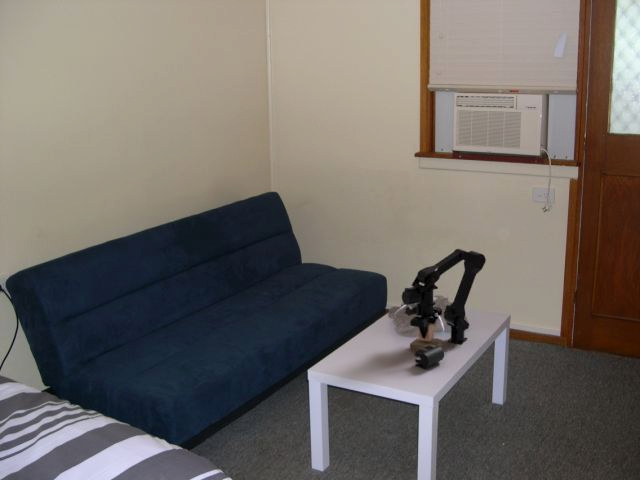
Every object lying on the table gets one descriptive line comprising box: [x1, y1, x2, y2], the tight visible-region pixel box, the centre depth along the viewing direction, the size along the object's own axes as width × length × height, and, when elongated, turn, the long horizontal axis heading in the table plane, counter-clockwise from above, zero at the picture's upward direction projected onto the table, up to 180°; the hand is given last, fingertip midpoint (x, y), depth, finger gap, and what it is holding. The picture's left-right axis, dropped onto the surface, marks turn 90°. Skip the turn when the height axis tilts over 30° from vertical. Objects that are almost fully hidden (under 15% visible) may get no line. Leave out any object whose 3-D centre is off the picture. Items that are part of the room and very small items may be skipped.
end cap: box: [414, 346, 445, 370], centre depth 300 cm, size 10×7×7 cm
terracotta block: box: [418, 323, 435, 341], centre depth 314 cm, size 4×4×6 cm
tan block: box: [409, 336, 443, 353], centre depth 316 cm, size 10×10×3 cm
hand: (426, 336), depth 315 cm, fingers closed on terracotta block, 4 cm apart
